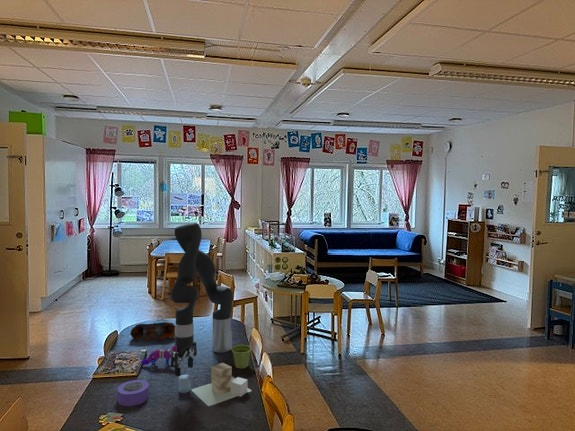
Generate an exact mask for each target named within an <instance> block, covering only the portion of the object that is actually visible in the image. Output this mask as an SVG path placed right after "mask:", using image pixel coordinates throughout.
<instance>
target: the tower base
mask: <svg viewBox="0 0 575 431" xmlns="http://www.w3.org/2000/svg"><path fill="white" fill-rule="evenodd" d="M211 383H212V390H213V391H214V392H215V393H216V394H217V395H221V394H224V393H227V392H230V391H231V379H230V380H227V381H225V382H223V383H221V384H220V383H218V382H216V381H214V380H212V379H211Z"/></svg>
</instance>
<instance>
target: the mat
mask: <svg viewBox="0 0 575 431" xmlns="http://www.w3.org/2000/svg"><path fill="white" fill-rule="evenodd" d="M234 379H236V378H235V377H234V375H233V376H232V379H231V381H233V380H234ZM190 391H191V392H193V393H194V394H195V395H196V396H197V397H198V398H199V399H200V400H201V401H202V402H203V403H205V405H206V406H208V407H211V406H214V405H217V404H220V403H222V402H226V401H229V400H230V399H233V398H236V397H238V396H237V395H233V394H231V391H230V392H227V393H224V394H221V395H217V394H216V393H215V392H214V391H213V390H212V382H210V383H207V384H205V385H200V386H198V387H195V388H191V390H190ZM250 392H252V389H250V388H248V391H247V392H246V393H245V394H247V393H250Z"/></svg>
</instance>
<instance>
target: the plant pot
mask: <svg viewBox="0 0 575 431" xmlns="http://www.w3.org/2000/svg"><path fill="white" fill-rule="evenodd" d="M230 351H231V352H232V355H233V360H234V367H235V368H237V369H246V368H247V367H249V360H250V354H251V351H252V347H251V346H250V345H246V344H238V345H234V346H232V349H230Z"/></svg>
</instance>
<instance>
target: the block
mask: <svg viewBox="0 0 575 431" xmlns="http://www.w3.org/2000/svg"><path fill="white" fill-rule="evenodd" d="M248 384H249V383H248V379H247V378H243V377H240V376H237V377H236V378H235V379H234V380H233V381H231V394H233V395H237V396H236V397H239V398H240V397H242V396H244V395H245V394H247V393H246V392H247V391H248V386H249V385H248Z"/></svg>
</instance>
